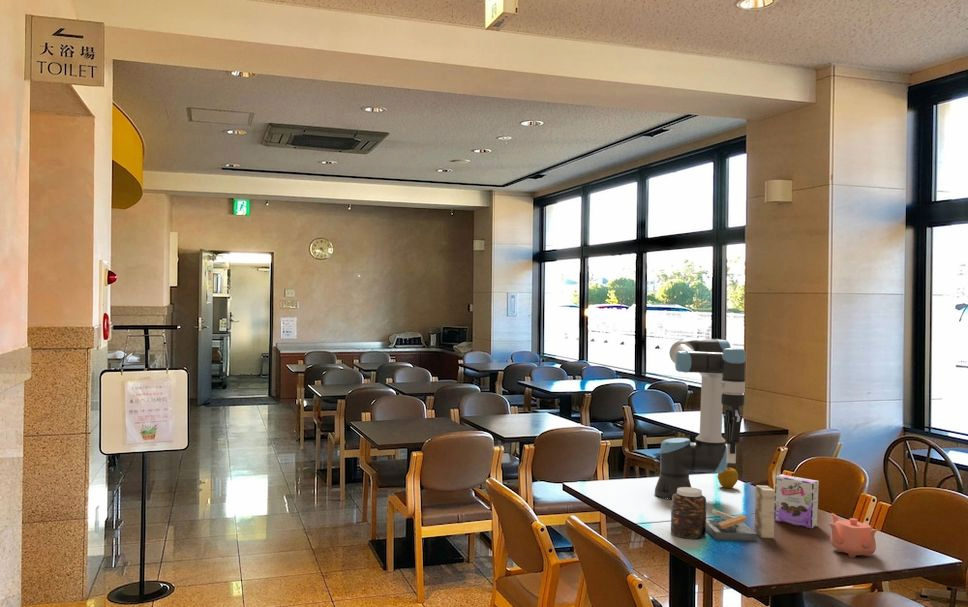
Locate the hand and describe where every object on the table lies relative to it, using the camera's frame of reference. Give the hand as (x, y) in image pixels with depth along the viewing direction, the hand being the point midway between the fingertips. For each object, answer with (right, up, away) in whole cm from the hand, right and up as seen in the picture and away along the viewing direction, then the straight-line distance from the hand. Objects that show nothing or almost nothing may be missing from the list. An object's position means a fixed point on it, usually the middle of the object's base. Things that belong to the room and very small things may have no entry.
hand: (730, 462), depth 262 cm
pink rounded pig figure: (+32, -26, -18) cm, 45 cm away
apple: (+21, -26, +70) cm, 78 cm away
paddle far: (-1, -19, +3) cm, 20 cm away
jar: (-15, -24, -2) cm, 28 cm away
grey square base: (-1, -24, 0) cm, 24 cm away
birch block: (+11, -25, 0) cm, 27 cm away
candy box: (+29, -26, +16) cm, 42 cm away
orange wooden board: (-1, -19, -4) cm, 20 cm away
